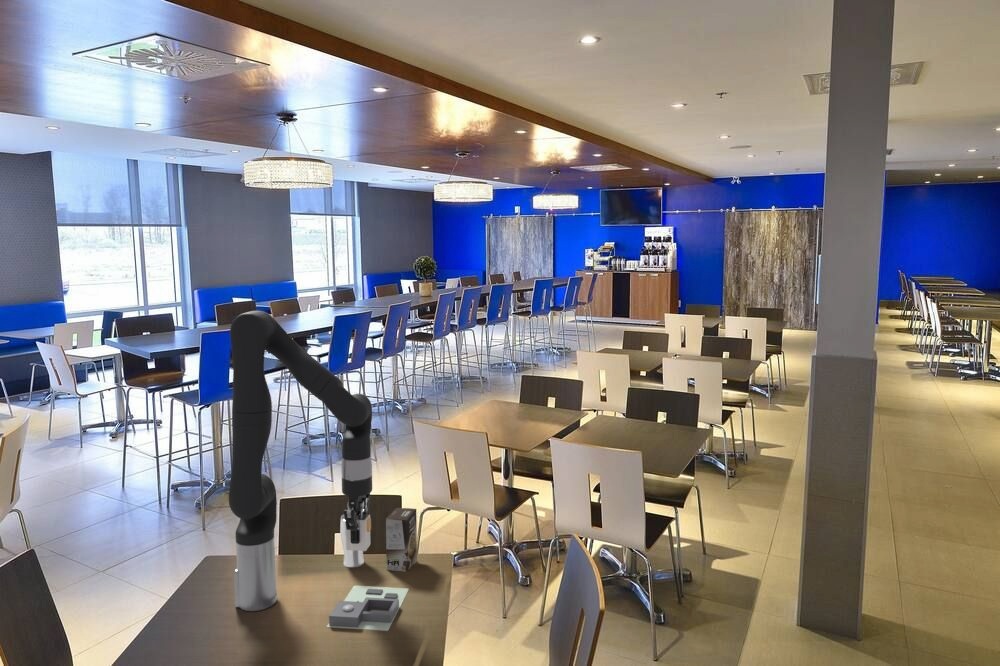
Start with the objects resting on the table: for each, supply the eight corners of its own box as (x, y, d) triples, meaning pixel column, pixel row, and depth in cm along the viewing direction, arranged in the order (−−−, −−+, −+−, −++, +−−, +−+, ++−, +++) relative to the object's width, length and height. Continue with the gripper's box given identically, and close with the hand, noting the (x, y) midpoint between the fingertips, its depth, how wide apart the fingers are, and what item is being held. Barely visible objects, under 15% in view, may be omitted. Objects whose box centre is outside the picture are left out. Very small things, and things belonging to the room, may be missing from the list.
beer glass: (354, 558, 195) (353, 509, 194) (371, 565, 191) (370, 515, 190) (336, 567, 190) (334, 517, 188) (352, 574, 186) (351, 523, 184)
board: (326, 631, 158) (326, 618, 157) (354, 589, 177) (353, 578, 177) (388, 635, 156) (387, 622, 156) (409, 592, 176) (408, 581, 175)
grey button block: (329, 625, 158) (328, 614, 157) (344, 602, 168) (344, 591, 168) (357, 627, 157) (357, 615, 157) (371, 604, 168) (371, 593, 167)
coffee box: (407, 576, 185) (406, 520, 183) (385, 573, 186) (384, 518, 184) (418, 561, 194) (417, 508, 192) (397, 559, 195) (396, 506, 193)
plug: (346, 550, 167) (345, 518, 166) (351, 543, 171) (351, 512, 170) (368, 551, 167) (367, 519, 166) (372, 544, 171) (372, 513, 170)
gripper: (351, 464, 174) (353, 527, 176) (332, 482, 160) (334, 550, 162) (379, 465, 174) (380, 528, 175) (362, 484, 159) (363, 552, 161)
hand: (358, 538), depth 169 cm, fingers closed on plug, 4 cm apart
